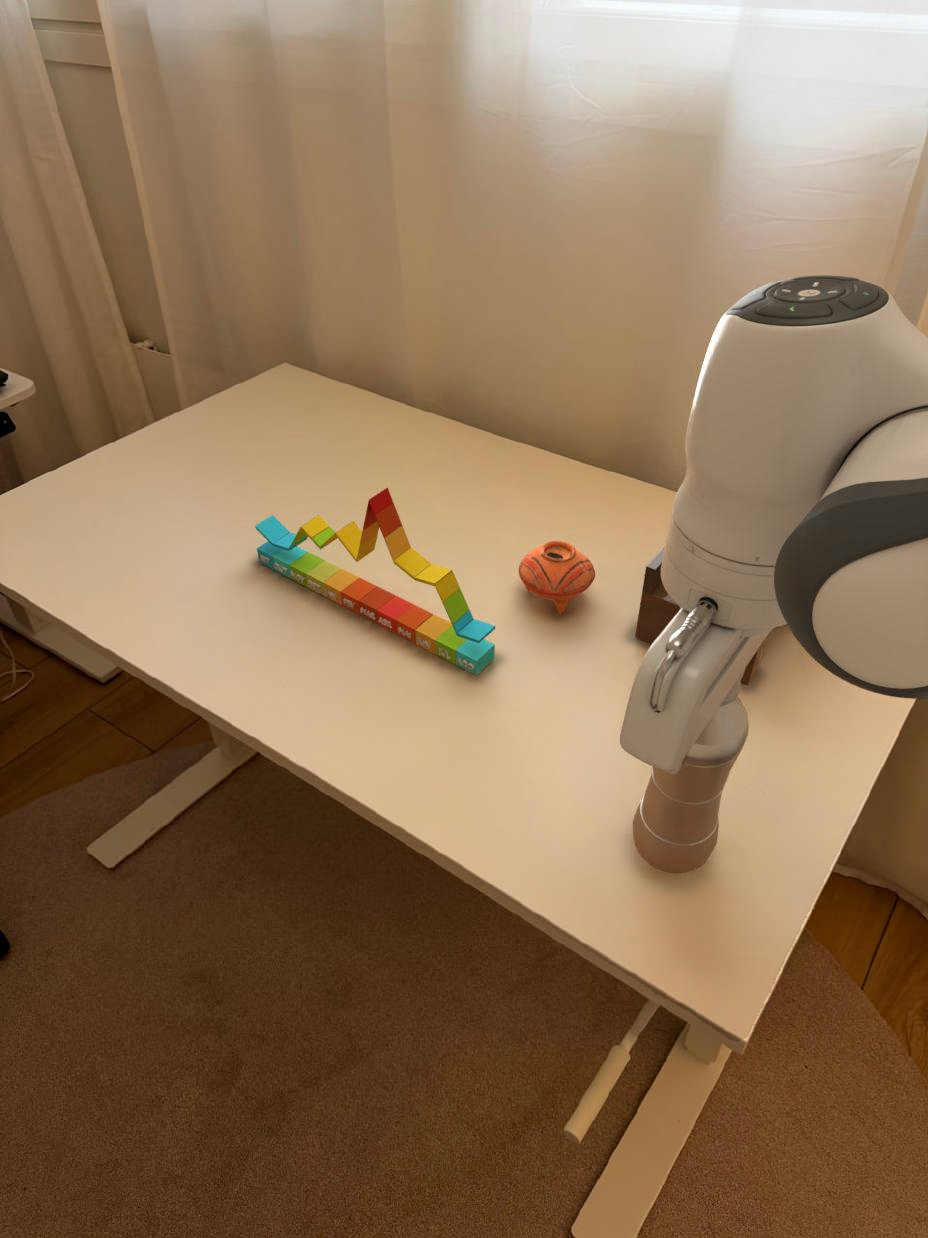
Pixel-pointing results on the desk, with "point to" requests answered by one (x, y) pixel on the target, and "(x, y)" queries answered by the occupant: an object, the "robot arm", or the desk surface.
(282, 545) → the chart
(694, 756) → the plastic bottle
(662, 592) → the shelf
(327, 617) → the desk surface
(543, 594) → the pot
